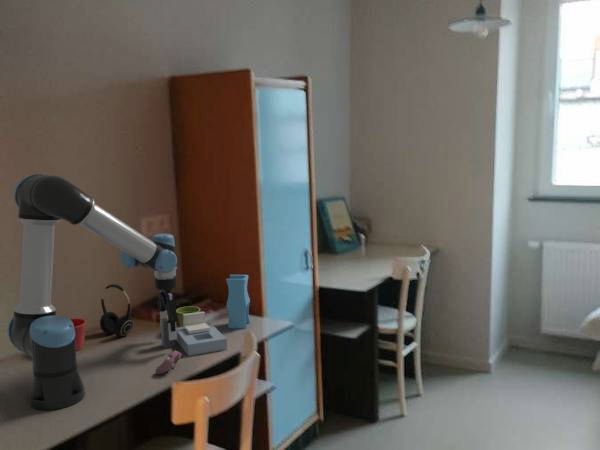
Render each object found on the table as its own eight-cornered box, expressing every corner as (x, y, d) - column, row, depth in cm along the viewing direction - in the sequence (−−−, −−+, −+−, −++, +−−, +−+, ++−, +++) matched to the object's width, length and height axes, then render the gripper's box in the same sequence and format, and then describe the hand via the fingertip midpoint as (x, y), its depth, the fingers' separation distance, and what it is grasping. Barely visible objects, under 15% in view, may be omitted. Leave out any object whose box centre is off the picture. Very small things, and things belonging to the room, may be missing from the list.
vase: (231, 321, 239) (230, 274, 236) (250, 322, 238) (249, 274, 235) (227, 328, 231) (225, 279, 228) (246, 328, 230) (245, 279, 227)
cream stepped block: (188, 334, 211) (188, 320, 211) (183, 327, 218) (182, 314, 218) (210, 330, 215) (209, 317, 214) (204, 324, 222) (203, 311, 221)
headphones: (111, 328, 231) (109, 280, 228) (139, 334, 224) (137, 284, 221) (94, 335, 224) (91, 284, 221) (123, 341, 217) (120, 289, 214)
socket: (188, 355, 202) (188, 344, 201) (174, 338, 219) (174, 328, 219) (226, 349, 208) (226, 338, 207) (210, 332, 225) (210, 323, 225)
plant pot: (206, 329, 229) (205, 308, 228) (189, 336, 221) (188, 314, 220) (188, 325, 234) (187, 305, 233) (171, 332, 226) (170, 310, 225)
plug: (164, 348, 209) (162, 319, 207) (161, 345, 212) (160, 316, 211) (175, 346, 211) (174, 317, 209) (172, 343, 214) (171, 314, 213)
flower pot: (62, 356, 202) (60, 329, 201) (51, 348, 210) (49, 322, 209) (92, 349, 209) (90, 323, 207) (80, 341, 217) (79, 316, 216)
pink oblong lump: (165, 380, 185) (174, 362, 184) (153, 373, 186) (161, 355, 184) (177, 368, 195) (186, 351, 193) (166, 361, 195) (174, 344, 194)
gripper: (184, 283, 198) (187, 342, 201) (168, 268, 220) (171, 322, 224) (162, 286, 195) (166, 346, 198) (148, 271, 217) (151, 325, 221)
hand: (168, 333), depth 211 cm, fingers open, 13 cm apart
